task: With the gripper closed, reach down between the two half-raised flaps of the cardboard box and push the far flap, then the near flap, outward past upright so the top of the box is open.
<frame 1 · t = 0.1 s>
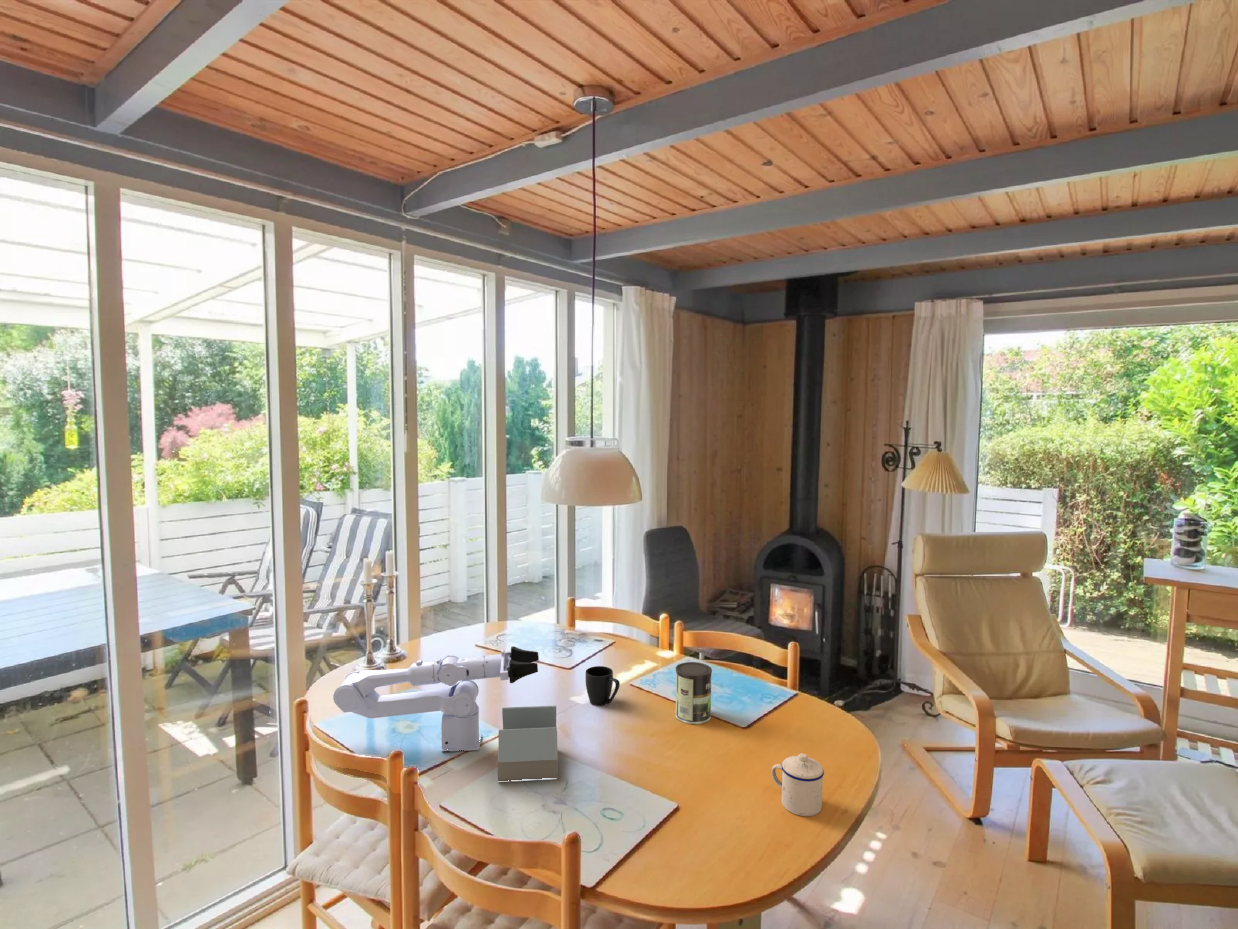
hand: (538, 661, 171), 22 cm above the table, tool horizontal, fingers open, 7 cm apart
coffee can: (692, 716, 188), on the table
near flap: (527, 744, 154), point 9 cm above the table, hinge at 72.0°
teacup with lid: (795, 803, 147), on the table
far flap: (529, 717, 167), point 9 cm above the table, hinge at 72.0°
carton: (528, 765, 161), on the table
mug: (603, 704, 195), on the table
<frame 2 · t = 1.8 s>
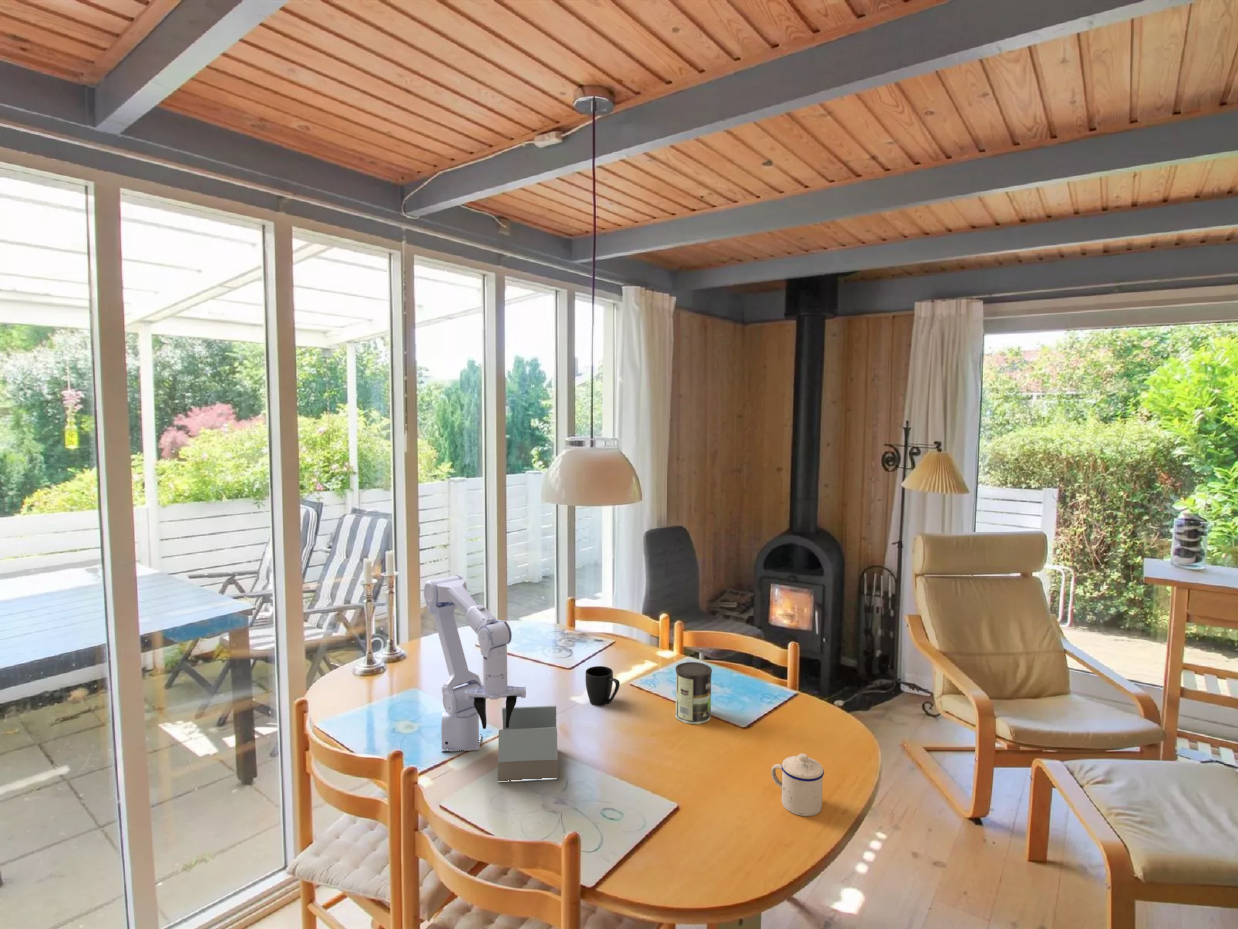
hand: (496, 726, 159), 10 cm above the table, tool pointing down, fingers open, 5 cm apart
nothing on the table moved.
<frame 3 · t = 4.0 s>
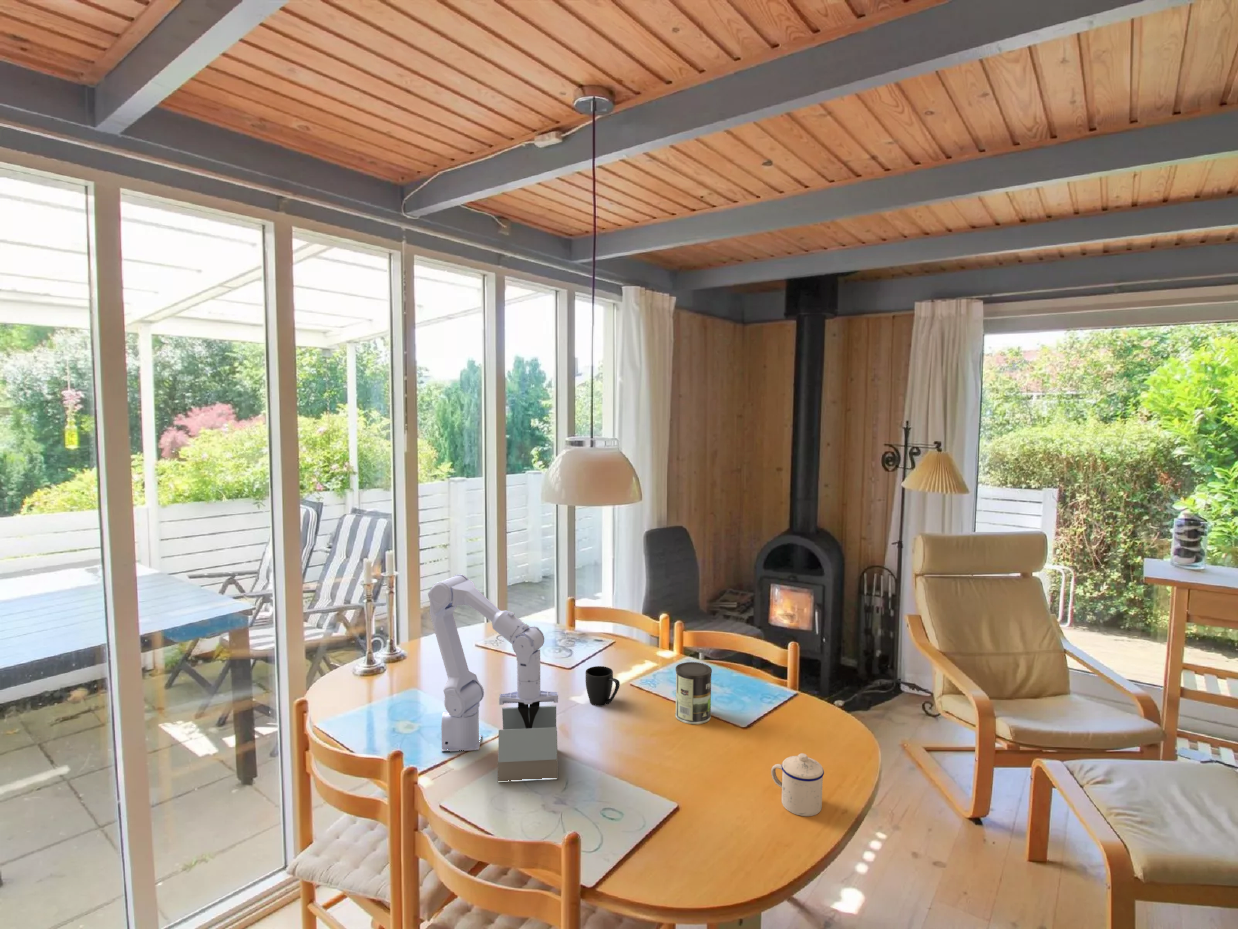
hand: (529, 730, 164), 7 cm above the table, tool pointing down, fingers closed, pressing on far flap
far flap: (529, 717, 167), point 9 cm above the table, hinge at 72.0°, touching gripper
everything else where it was.
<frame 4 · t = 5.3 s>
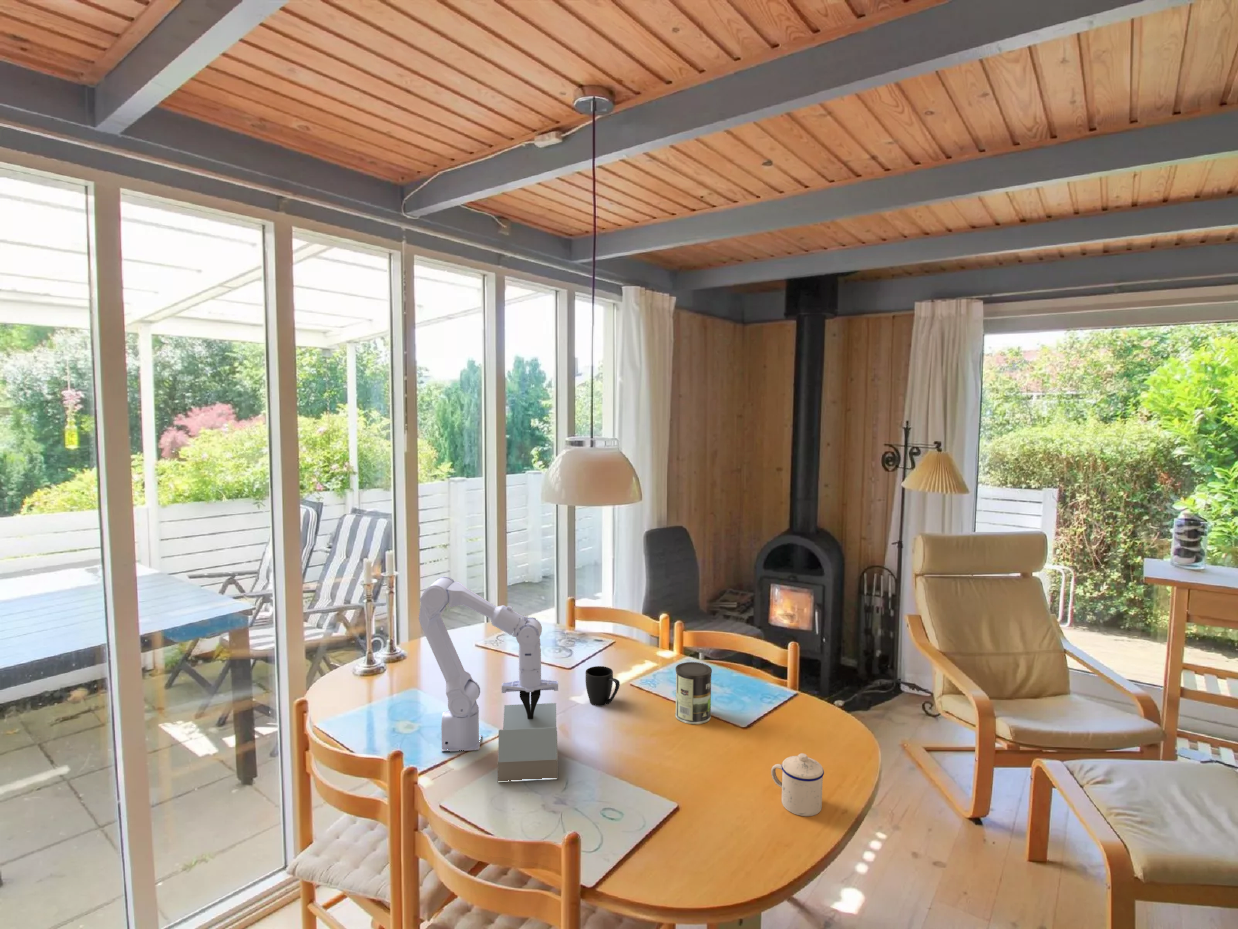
hand: (530, 717, 170), 8 cm above the table, tool pointing down, fingers closed, pressing on far flap
far flap: (530, 716, 171), point 7 cm above the table, hinge at 145.9°, touching gripper
everything else where it was.
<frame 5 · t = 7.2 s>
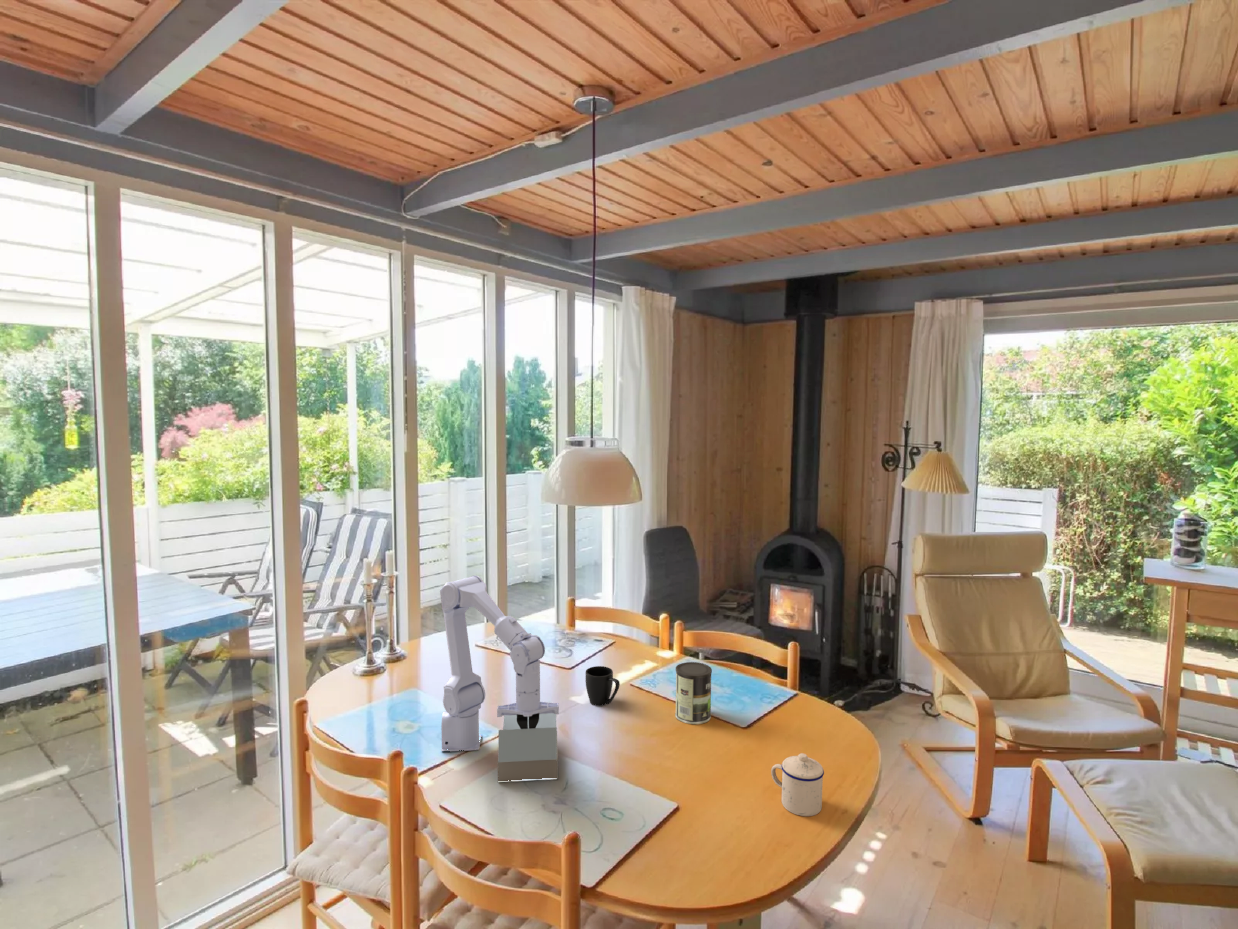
hand: (528, 743, 157), 8 cm above the table, tool pointing down, fingers closed, pressing on near flap
near flap: (527, 744, 154), point 9 cm above the table, hinge at 72.6°, touching gripper
far flap: (530, 718, 171), point 7 cm above the table, hinge at 154.8°
everything else where it was.
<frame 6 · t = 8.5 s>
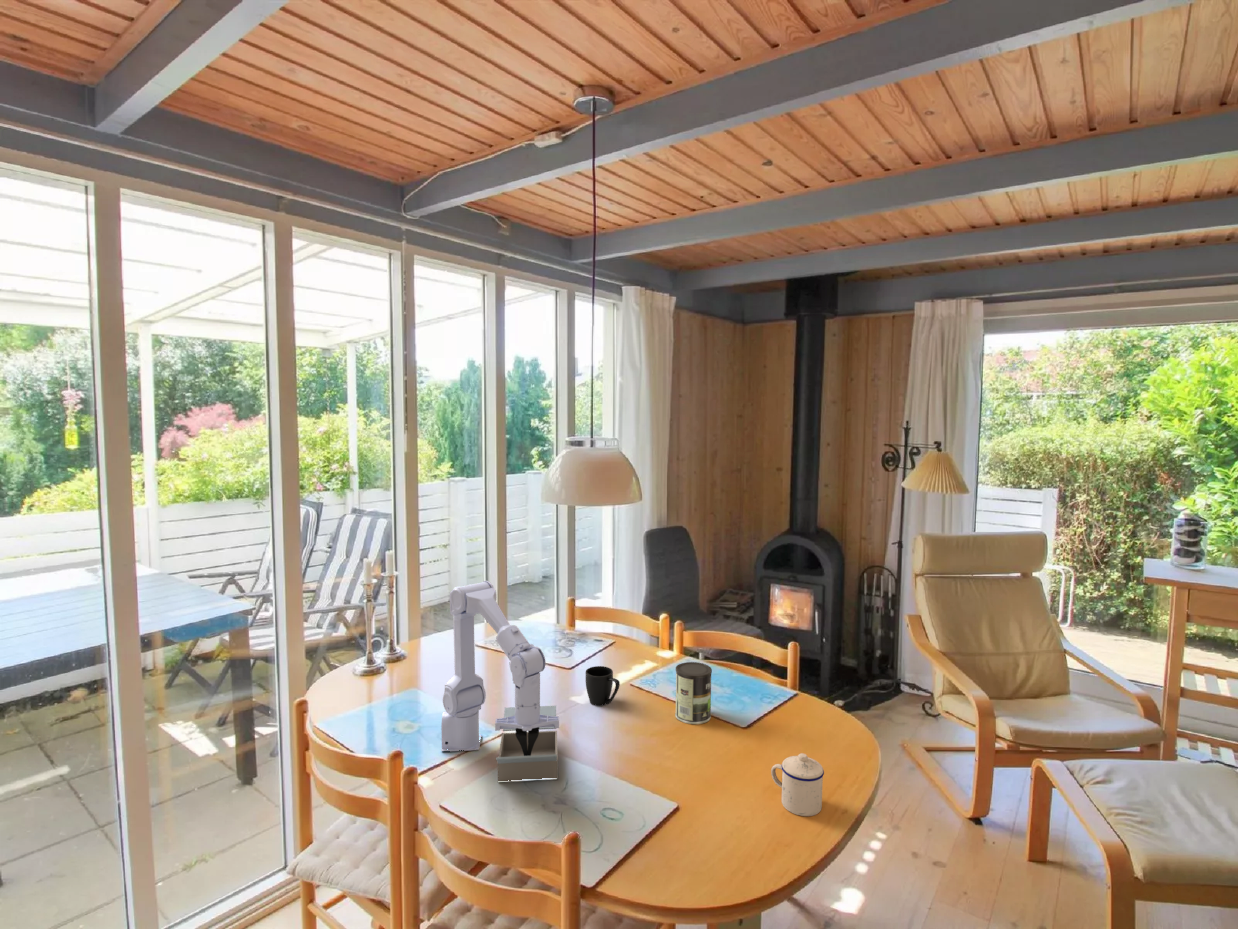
hand: (527, 757, 151), 7 cm above the table, tool pointing down, fingers closed, pressing on near flap
near flap: (527, 759, 150), point 7 cm above the table, hinge at 143.3°, touching gripper
everything else where it was.
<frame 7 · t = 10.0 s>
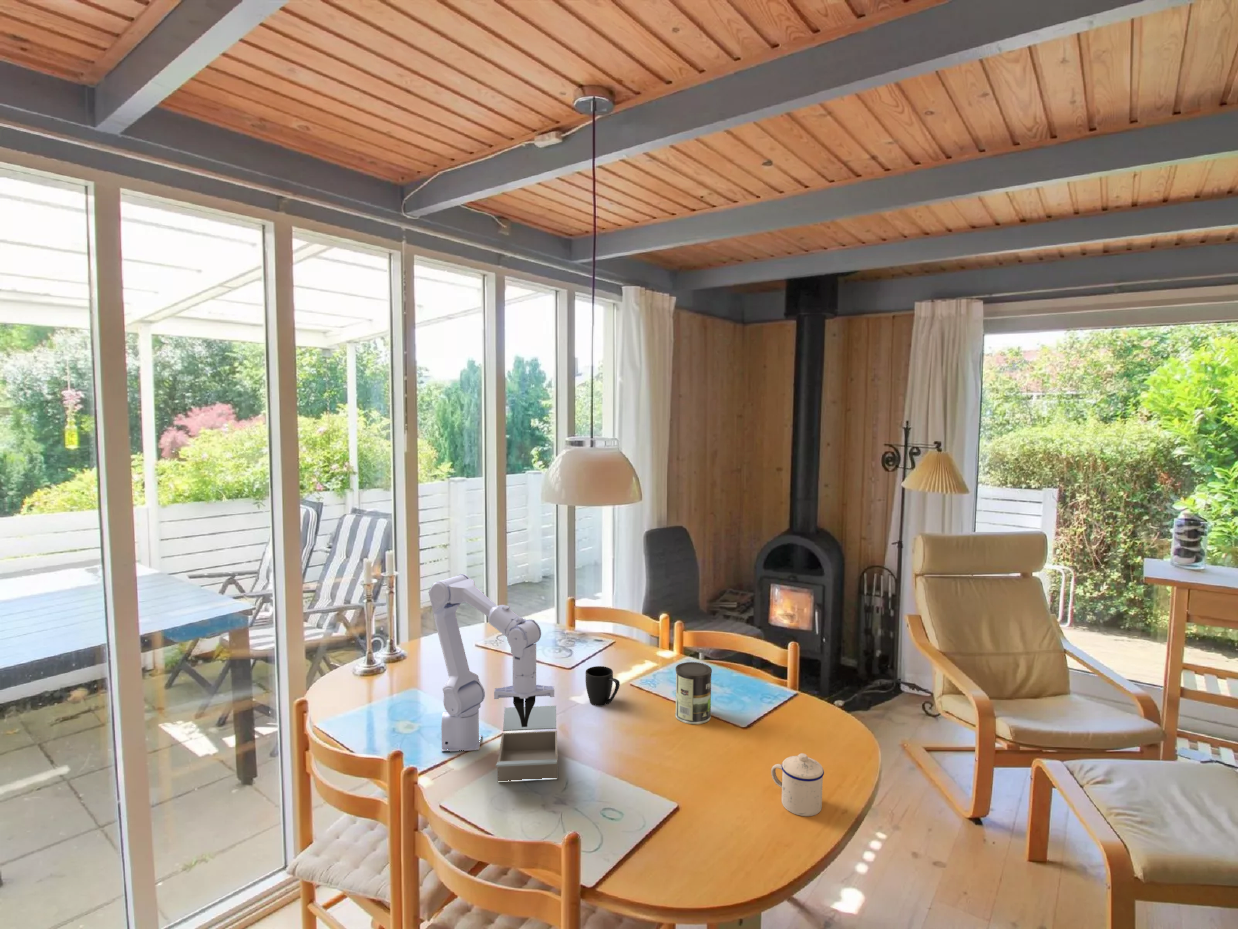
hand: (524, 725, 160), 10 cm above the table, tool pointing down, fingers closed
near flap: (527, 762, 150), point 7 cm above the table, hinge at 155.9°
everything else where it was.
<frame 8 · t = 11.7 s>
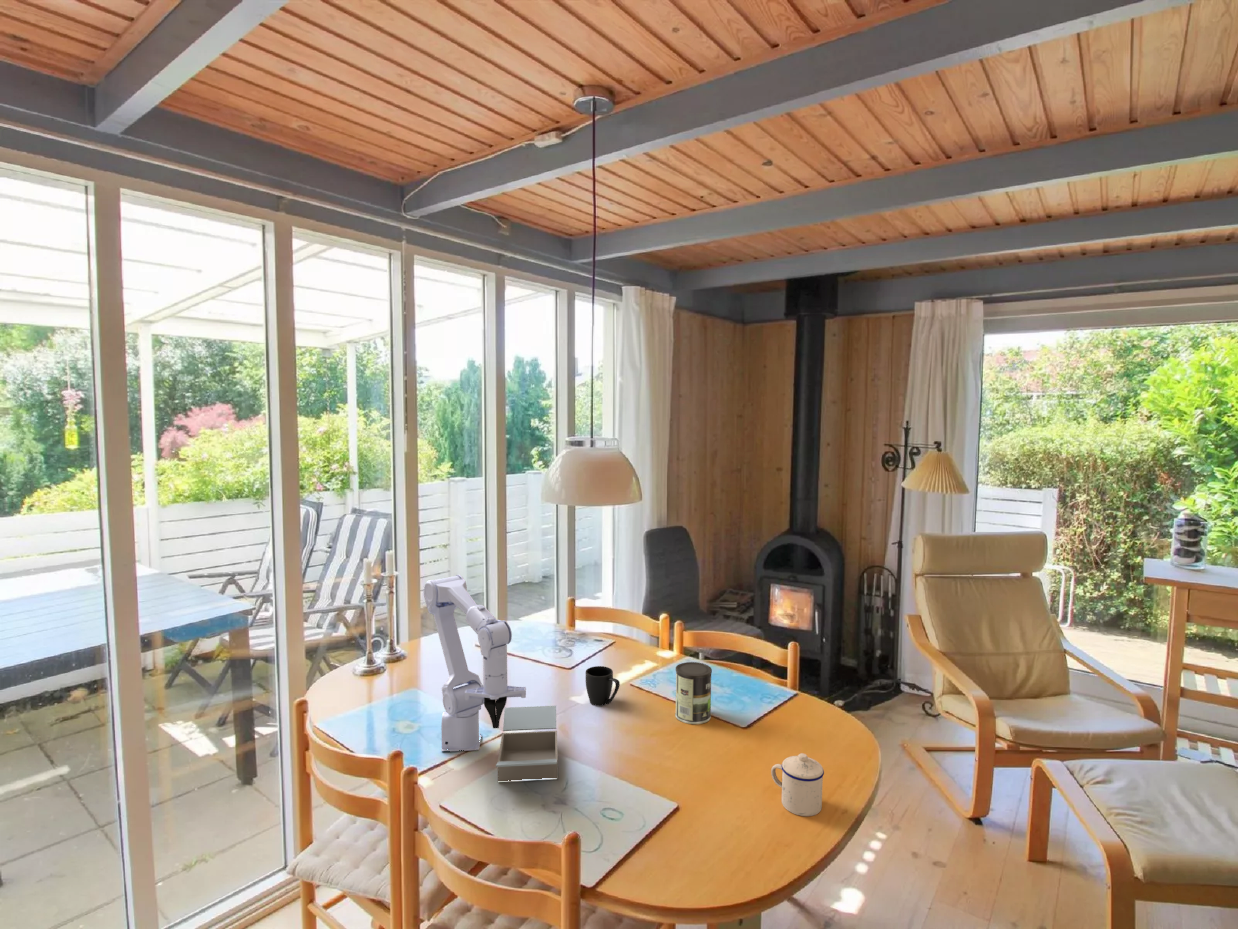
hand: (496, 726, 159), 10 cm above the table, tool pointing down, fingers closed
near flap: (527, 762, 150), point 7 cm above the table, hinge at 156.3°
everything else where it was.
at the end: far flap at +155° (first picture: +72°); near flap at +156° (first picture: +72°) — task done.
